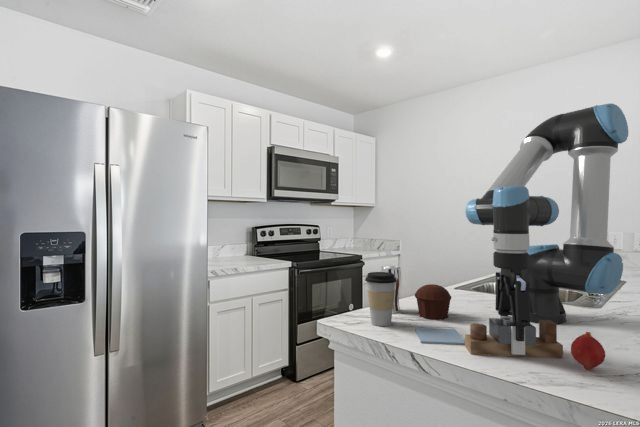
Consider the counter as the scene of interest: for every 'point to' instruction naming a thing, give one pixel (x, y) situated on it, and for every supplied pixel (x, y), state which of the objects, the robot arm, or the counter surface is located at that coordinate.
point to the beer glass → (397, 275)
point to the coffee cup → (381, 297)
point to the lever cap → (509, 331)
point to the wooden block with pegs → (489, 346)
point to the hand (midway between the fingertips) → (511, 347)
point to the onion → (587, 351)
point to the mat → (439, 336)
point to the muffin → (433, 302)
